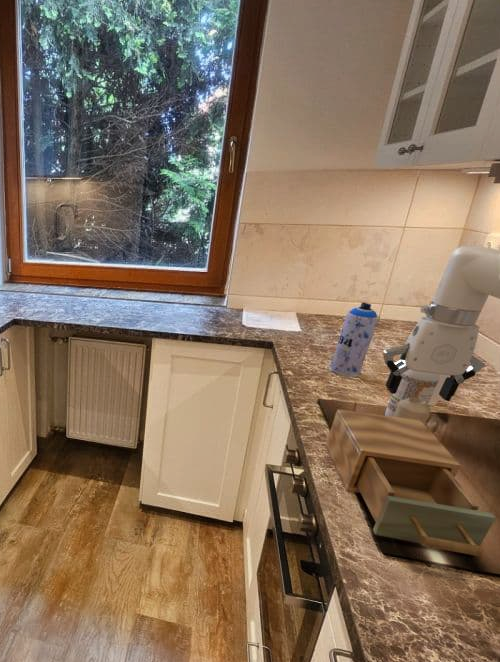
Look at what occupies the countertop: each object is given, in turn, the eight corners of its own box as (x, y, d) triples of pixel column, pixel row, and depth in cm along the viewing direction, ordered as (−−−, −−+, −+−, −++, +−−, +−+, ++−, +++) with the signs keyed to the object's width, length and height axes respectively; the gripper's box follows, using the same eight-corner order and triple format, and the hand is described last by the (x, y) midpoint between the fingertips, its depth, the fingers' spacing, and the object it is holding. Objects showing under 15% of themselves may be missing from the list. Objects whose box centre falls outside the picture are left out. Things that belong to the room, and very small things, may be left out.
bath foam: (401, 428, 107) (436, 345, 98) (376, 413, 113) (407, 334, 104) (426, 426, 108) (463, 344, 99) (400, 411, 114) (432, 333, 105)
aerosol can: (322, 367, 138) (343, 300, 129) (344, 365, 140) (366, 299, 131) (343, 377, 131) (367, 308, 123) (366, 375, 133) (391, 306, 124)
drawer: (497, 582, 66) (520, 545, 63) (388, 561, 69) (405, 525, 66) (432, 494, 84) (448, 462, 81) (348, 480, 87) (360, 449, 84)
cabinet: (439, 506, 82) (460, 465, 78) (346, 490, 86) (361, 450, 82) (404, 457, 96) (420, 420, 92) (325, 445, 99) (337, 409, 95)
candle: (381, 432, 105) (397, 392, 100) (409, 436, 103) (427, 396, 99) (389, 445, 100) (406, 403, 96) (419, 450, 99) (438, 408, 94)
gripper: (408, 315, 88) (376, 396, 96) (517, 326, 84) (474, 409, 92) (393, 304, 94) (364, 380, 102) (494, 314, 91) (456, 392, 98)
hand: (416, 394), depth 97 cm, fingers open, 9 cm apart
